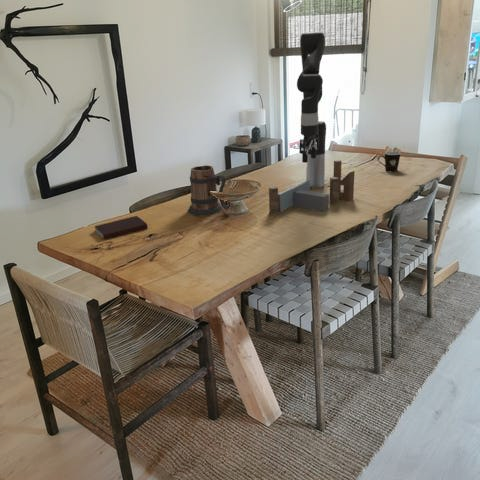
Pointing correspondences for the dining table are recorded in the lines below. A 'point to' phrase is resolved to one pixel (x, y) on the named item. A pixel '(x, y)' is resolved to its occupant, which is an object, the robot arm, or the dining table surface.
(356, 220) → the dining table surface
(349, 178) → the wooden block
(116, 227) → the book
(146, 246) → the dining table surface
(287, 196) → the gate leaf
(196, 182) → the tankard
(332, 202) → the gate frame
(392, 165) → the coffee mug
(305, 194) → the block
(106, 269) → the dining table surface
